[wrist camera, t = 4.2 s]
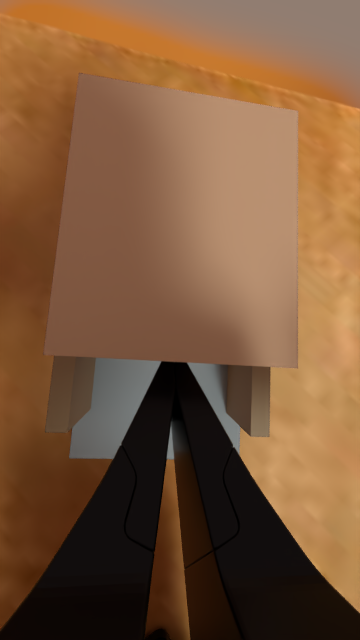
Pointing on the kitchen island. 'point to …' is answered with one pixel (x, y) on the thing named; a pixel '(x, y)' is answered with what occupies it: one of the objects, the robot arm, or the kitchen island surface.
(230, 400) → the chute
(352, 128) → the kitchen island surface
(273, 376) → the kitchen island surface
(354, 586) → the kitchen island surface
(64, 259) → the block
